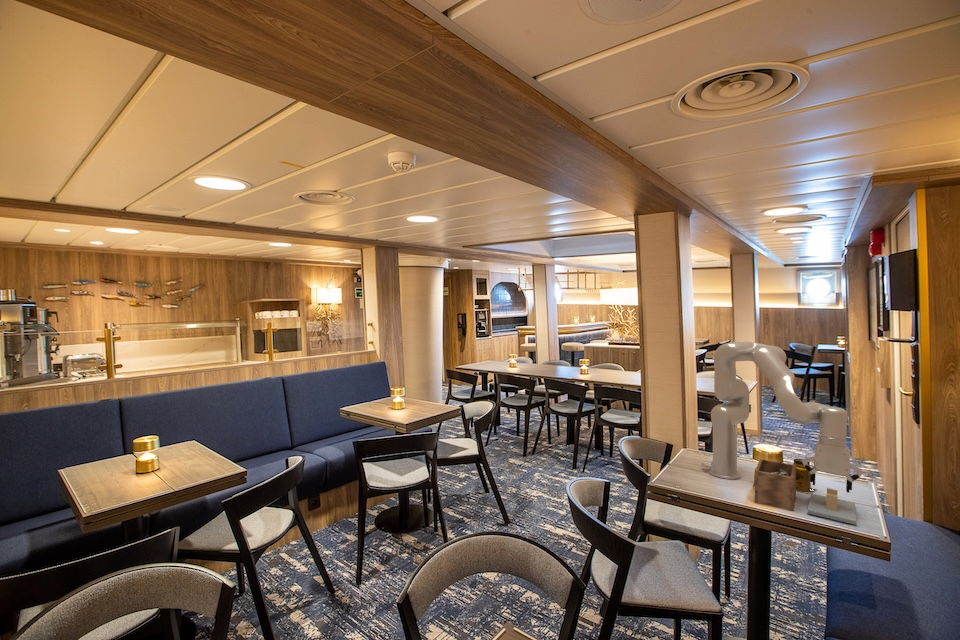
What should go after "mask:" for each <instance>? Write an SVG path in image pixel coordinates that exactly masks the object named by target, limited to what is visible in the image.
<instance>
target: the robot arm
mask: <svg viewBox="0 0 960 640" xmlns="http://www.w3.org/2000/svg"><path fill="white" fill-rule="evenodd" d="M786 360H787V354H786V352H785V351H784V350H783V349H782V348H781V347H779V346H777V345H772V344H771V345H770V344H769V345H768V344H766V343H765V344H763V343H759V342H752V341H731V342H727V343H726V342H725V343H723V344H722V345H720V346H718V347H717V348H716V350H715V352H714V354H713V365H714V367H713V368H714V376H713V377H714V378H713V379H714V381H713V382H714V384H713V385H714V389H713V391H714V396H715V398H716V399H717V400H719V401H721V402H722V401H723V402H726V403H719V404H717V405H715V406H714V407H712V409H711V411H710V419H711V425H712V426H711V427H712V461H707V460H702V462H701V465H702V466H703V467H705V468H709V469H708V473H709V474H710V475H711V476H714V477H717V478H721V479H723V480H725V479H726V480H738V479H740V478H741V477H742V474H741V472H739V471H738V433H737V430H736V427H735V425H738V424H744V423H745V422H746V421H748V418H749V416H750V388H749V386H748V384H747V383H746V382H745V381H744V380H742V379H740V378H737V368H736V365H735V364H734V363H736V362H753V363H754V365H755V366H756V367H757V368H758V369H759V370H760V372H761V373H762V374H763V376H764V377H765V378H766V380H767V381H768V382H769V383H770V384H771V386H772V387H773V393H774V396H775V398H776V399H775V400H776V401H777V404H778V405H779V406H780V407H781V409H782V411H784V413H785V414H786V415H787V416H788V417H789V419H790V420H791V421H793V422H795V423H797V424H799V425H808V424H813V423H814V424H815V423H819V434H818V435H816V434H815V435H814V440H817V442H816V445H815V448H814V453H813V454H814V456H811V457H807V458H806V457H805V458H801V459H802V463H803V464H804V466H805V468H806V469H807V470H808V471H809V472H810V474H811V478H810V482H811V483H812V486H815V485H816V472H821V473H825V474H830V475H836V476H840V477H841V476H842V477H845V478H846V488H845V490H846V493H848V494H849V493H850V491H852V490H853V482H855V481H856V480H858V479H860V477H862V475H863V474H864V470H862V469H861V468H859V467H857V466H856V465H854V464H852V463H851V454H850V449H849V446H847V430H848V429H847V427H848V412H847V410H846V409H845V408H842V407H839V406H838V407H837V406H831V405H826V404H823V403H819V402H814V401H809V402H803V401H802V400H801V399H800V398H799V396H798V395H797V393H796V392H795V390H794V386H793V385H794V384H793V383H794V381H795V377H796V376H795V374H794V373H793V372H792V370H790V369H789V367H788V366H787V364H786ZM808 462H813V467H811V465H810V464H809V465H810V466H809V465H808ZM851 470H853V471H855V473H854V474H852V475H851V474H850V472H851Z"/></svg>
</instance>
